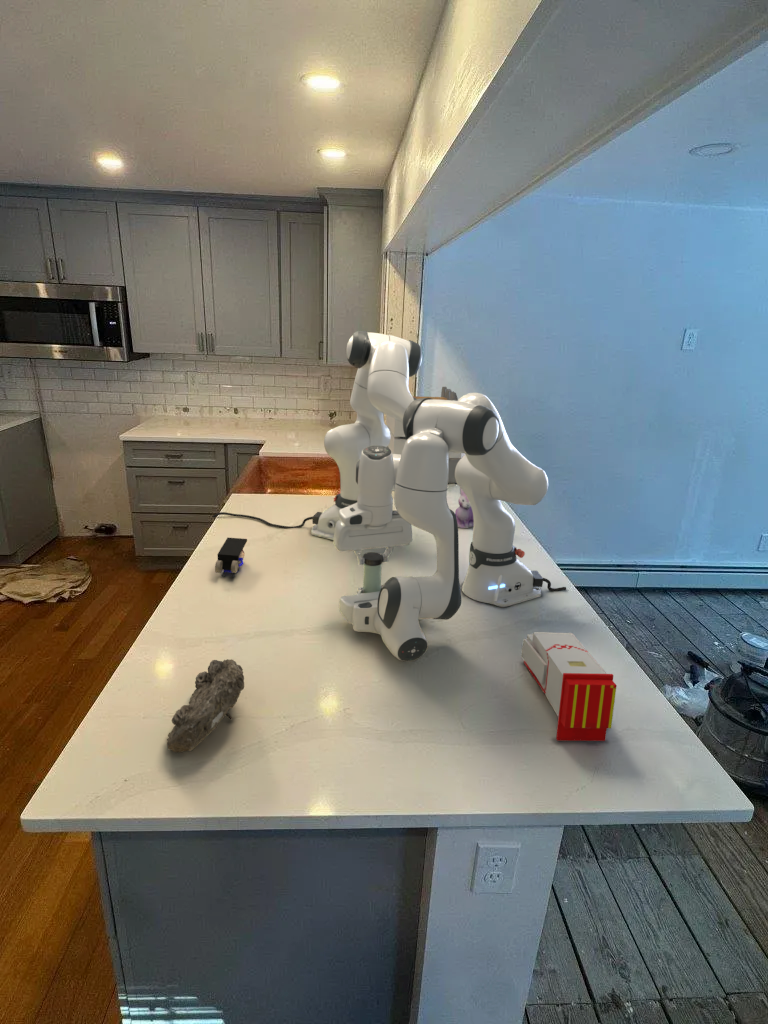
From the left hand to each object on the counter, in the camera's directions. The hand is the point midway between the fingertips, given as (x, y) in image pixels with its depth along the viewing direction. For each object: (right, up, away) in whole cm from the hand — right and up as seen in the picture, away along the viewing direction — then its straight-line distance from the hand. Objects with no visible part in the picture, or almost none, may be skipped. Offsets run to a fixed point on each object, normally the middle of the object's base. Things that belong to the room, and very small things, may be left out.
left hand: (372, 562), depth 146 cm
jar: (-1, -12, +4) cm, 13 cm away
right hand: (-1, -7, +3) cm, 8 cm away
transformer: (+20, +32, +129) cm, 135 cm away
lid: (0, +1, -1) cm, 2 cm away
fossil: (-30, -26, -37) cm, 54 cm away
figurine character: (-42, -4, +22) cm, 48 cm away
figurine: (+33, +8, +66) cm, 74 cm away
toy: (+39, -25, -27) cm, 54 cm away
